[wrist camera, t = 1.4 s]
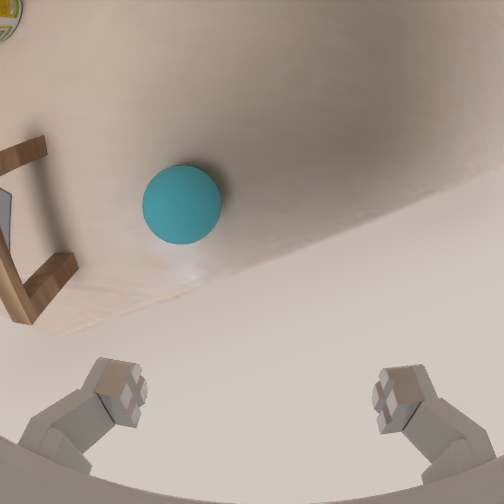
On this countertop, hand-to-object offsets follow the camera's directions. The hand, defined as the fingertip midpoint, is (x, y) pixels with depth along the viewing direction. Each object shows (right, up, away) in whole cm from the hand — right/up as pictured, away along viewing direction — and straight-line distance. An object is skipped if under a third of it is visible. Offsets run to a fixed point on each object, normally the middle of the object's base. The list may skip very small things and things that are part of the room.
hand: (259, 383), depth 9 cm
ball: (-6, +8, +13) cm, 17 cm away
